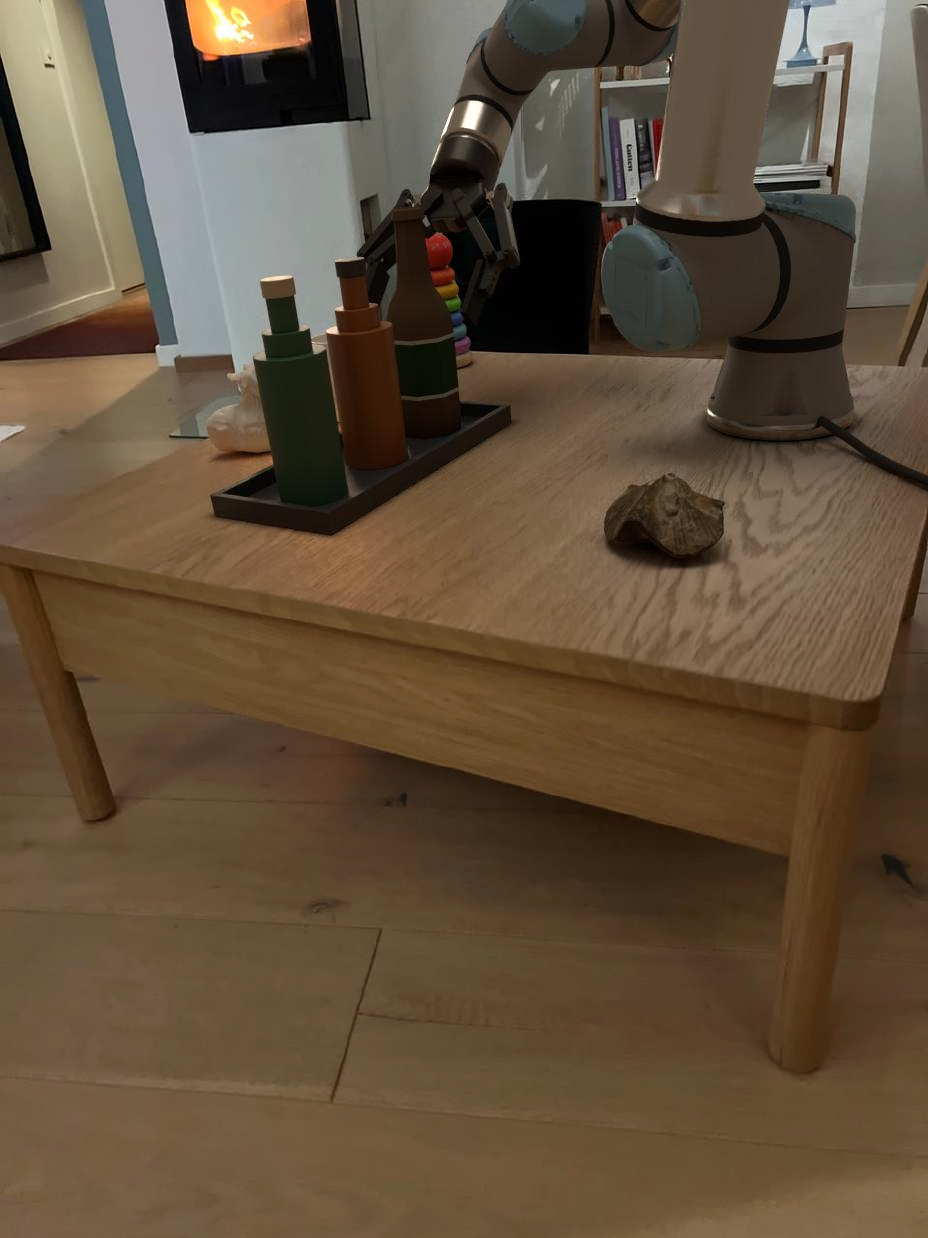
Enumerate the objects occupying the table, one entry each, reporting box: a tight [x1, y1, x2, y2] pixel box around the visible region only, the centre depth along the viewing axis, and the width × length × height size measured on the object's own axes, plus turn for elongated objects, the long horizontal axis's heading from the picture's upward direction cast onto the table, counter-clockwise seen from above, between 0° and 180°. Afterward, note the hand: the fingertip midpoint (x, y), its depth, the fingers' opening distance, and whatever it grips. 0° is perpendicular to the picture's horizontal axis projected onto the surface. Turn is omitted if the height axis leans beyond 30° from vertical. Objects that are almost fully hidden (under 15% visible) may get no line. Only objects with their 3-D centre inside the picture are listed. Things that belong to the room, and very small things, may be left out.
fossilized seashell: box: [603, 472, 726, 559], centre depth 73 cm, size 8×7×10 cm
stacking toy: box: [425, 232, 474, 369], centre depth 134 cm, size 8×8×19 cm
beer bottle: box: [385, 206, 461, 439], centre depth 101 cm, size 8×8×24 cm
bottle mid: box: [325, 256, 408, 470], centre depth 94 cm, size 7×7×20 cm
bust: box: [206, 362, 271, 454], centre depth 105 cm, size 12×8×11 cm
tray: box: [209, 400, 513, 536], centre depth 98 cm, size 36×15×2 cm, turn 150°
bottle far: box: [252, 275, 348, 506], centre depth 86 cm, size 7×7×20 cm
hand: (414, 319), depth 100 cm, fingers open, 13 cm apart
